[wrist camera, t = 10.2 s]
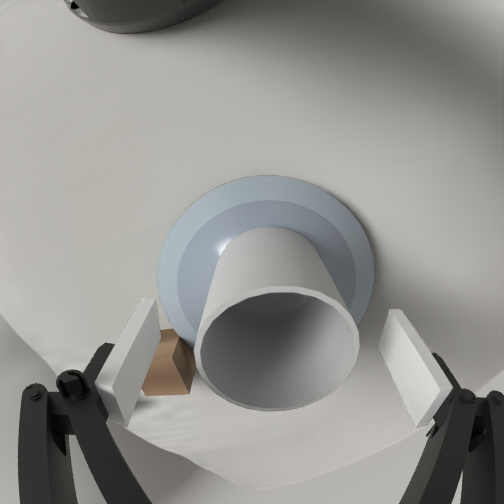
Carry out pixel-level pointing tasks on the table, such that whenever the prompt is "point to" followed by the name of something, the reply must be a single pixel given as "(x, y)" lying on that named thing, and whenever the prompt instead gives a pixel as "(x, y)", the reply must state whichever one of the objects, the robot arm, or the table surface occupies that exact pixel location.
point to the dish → (251, 216)
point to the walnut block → (170, 367)
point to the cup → (274, 324)
